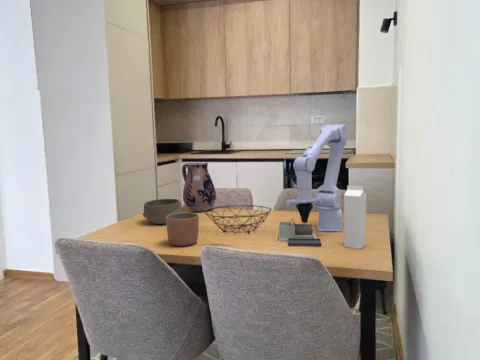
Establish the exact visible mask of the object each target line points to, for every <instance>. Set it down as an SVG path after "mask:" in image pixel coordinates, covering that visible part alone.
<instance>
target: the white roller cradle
mask: <svg viewBox="0 0 480 360" xmlns="http://www.w3.org/2000/svg"><path fill="white" fill-rule="evenodd" d="M288 224H291V221H279V225H278V227H279V228H278V235H279V237H278V241H279V242H288V238H317V237H316V236H317V235H316V233H314V232H315V231H314V232H312V235H302V234H295V226H288ZM294 224H296V221H294Z"/></svg>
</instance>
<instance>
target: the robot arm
mask: <svg viewBox="0 0 480 360" xmlns="http://www.w3.org/2000/svg"><path fill="white" fill-rule="evenodd" d="M348 135H349V131H348V127H347V126H346V124H344V123H342V124H323V125H322V126H321V128H320V130H319V136H318V137H317V139H316V141H315V142H314V143H312V144H309V145H308V147H307V148H306V149H305V151H303V153H302V154H301V156H298V157H296V158H295V159H294V161H293V164H292V166H293V170H294V174H295V175H294V176H296V198H292V199H287V200H285V205H286V206H287V207H291V206H295V207H296V209H297V211H298V213H299V217H300V220H301V223H302V224H308V220H309V218H310V217H309V216H310V214H311V212H312V211H313V208H314V205H315V206H316V208H317V209H318V225H317V226H316V227H317V231H318V232H342V226H343V216H342V214H343V213H342V209H341V208H340V206H341V204H342V196H341V195H342V192H341V190H340V189H339V188H338V186H337V184H338V178H339V174H340V169H341V162H342V157H343V154H344V153H343V152H344V148H345V147H346V145H347V143H348V142H347V141H348ZM325 146H327V147H329V149H330V150H329V154H328V160H327V165H326V170H325V175H324V180H323V184H322V185H321V186H319V187H317V190H316V193H315V195H314V196H313V193H312V191H313V189H312V187H313V184H312V183H313V181H312V172H313V171H314V170H315V168H316V167H315V165H316V163H317V160H318V159H319V158H320V157H321V155H322V149H323V148H324V147H325ZM312 196H313V197H312Z"/></svg>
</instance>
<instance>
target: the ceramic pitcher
mask: <svg viewBox="0 0 480 360" xmlns="http://www.w3.org/2000/svg"><path fill="white" fill-rule="evenodd" d="M208 166H209V163H208V162H186V163H184V164H183V165H182V168H181V173H182V176H183V177H182V178H183V180H184V184H183V191H182V200H183V202H184V204H185V206H186V208H187V209H189V210H190V211H192V212H194V213H199V212H206V211H210V210H211V209H212V208H213V207H214V205H215V203H216V199H217V193H216V188H215V186H214V185H215V184H214V183H213V180H212V177H211V175H210V173H209V169H208Z"/></svg>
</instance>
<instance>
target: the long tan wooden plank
mask: <svg viewBox="0 0 480 360" xmlns="http://www.w3.org/2000/svg"><path fill="white" fill-rule="evenodd" d="M290 222H291V226H294V222H295V218H294V217H290Z"/></svg>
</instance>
